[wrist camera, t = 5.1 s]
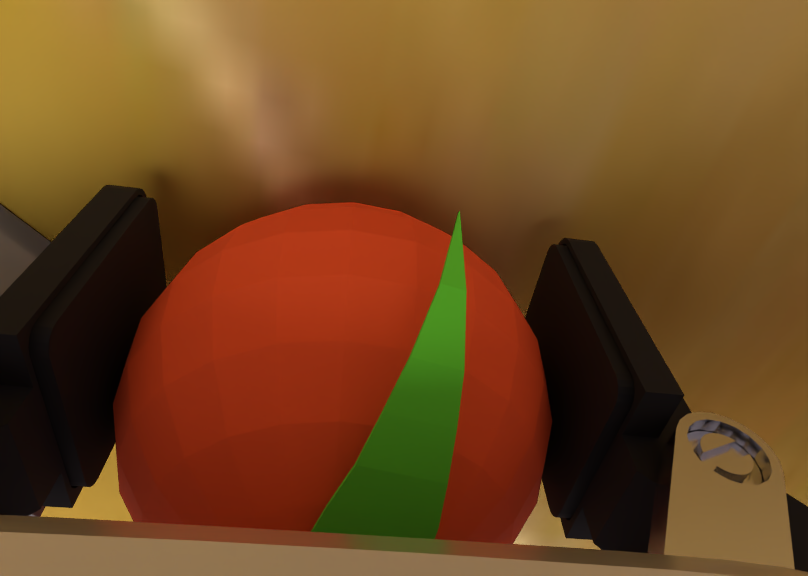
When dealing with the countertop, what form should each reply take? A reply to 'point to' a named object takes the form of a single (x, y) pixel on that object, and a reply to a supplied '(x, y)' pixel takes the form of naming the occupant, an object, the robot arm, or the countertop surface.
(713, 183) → the countertop surface
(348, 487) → the clementine
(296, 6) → the countertop surface
